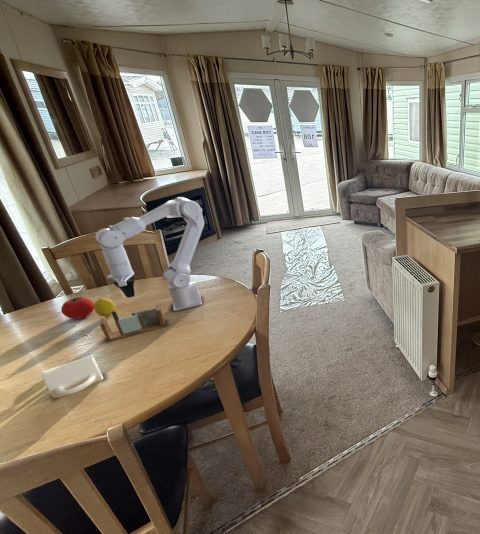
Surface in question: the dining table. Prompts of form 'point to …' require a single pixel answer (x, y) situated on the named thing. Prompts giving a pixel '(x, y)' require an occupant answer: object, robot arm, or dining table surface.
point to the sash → (129, 323)
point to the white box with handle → (72, 376)
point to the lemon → (104, 307)
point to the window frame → (151, 321)
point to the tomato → (77, 307)
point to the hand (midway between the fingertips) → (130, 296)
